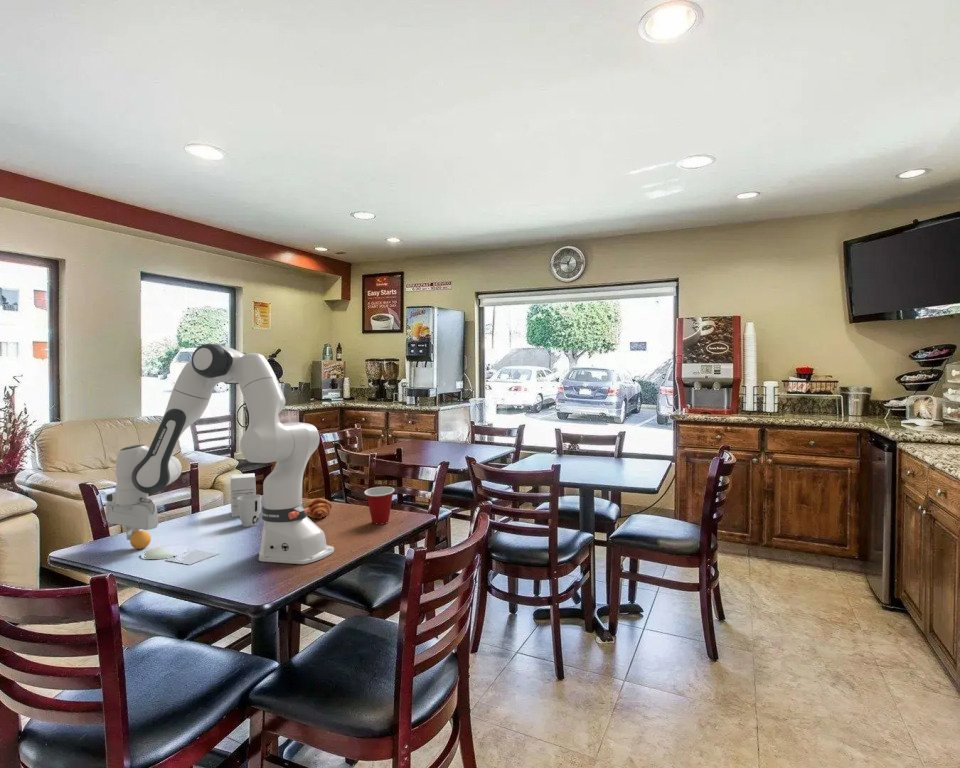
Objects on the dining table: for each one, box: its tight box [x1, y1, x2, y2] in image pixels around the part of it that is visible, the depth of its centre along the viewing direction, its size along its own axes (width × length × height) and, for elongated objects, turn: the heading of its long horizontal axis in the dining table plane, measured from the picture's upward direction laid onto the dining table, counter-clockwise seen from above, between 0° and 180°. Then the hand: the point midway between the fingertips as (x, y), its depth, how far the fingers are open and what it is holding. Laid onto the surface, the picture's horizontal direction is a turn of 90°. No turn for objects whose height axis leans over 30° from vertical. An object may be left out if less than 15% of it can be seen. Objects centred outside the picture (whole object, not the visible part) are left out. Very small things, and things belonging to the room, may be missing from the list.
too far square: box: [166, 549, 219, 566], centre depth 160 cm, size 10×10×1 cm
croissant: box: [304, 497, 333, 519], centre depth 209 cm, size 21×10×8 cm, turn 23°
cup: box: [237, 494, 263, 528], centre depth 195 cm, size 8×8×10 cm
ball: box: [129, 530, 152, 550], centre depth 169 cm, size 6×6×6 cm
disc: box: [144, 546, 188, 560], centre depth 165 cm, size 13×13×1 cm
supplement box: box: [230, 472, 257, 518], centre depth 211 cm, size 9×9×15 cm
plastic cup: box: [364, 486, 395, 525], centre depth 195 cm, size 11×11×12 cm
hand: (131, 539), depth 171 cm, fingers closed
